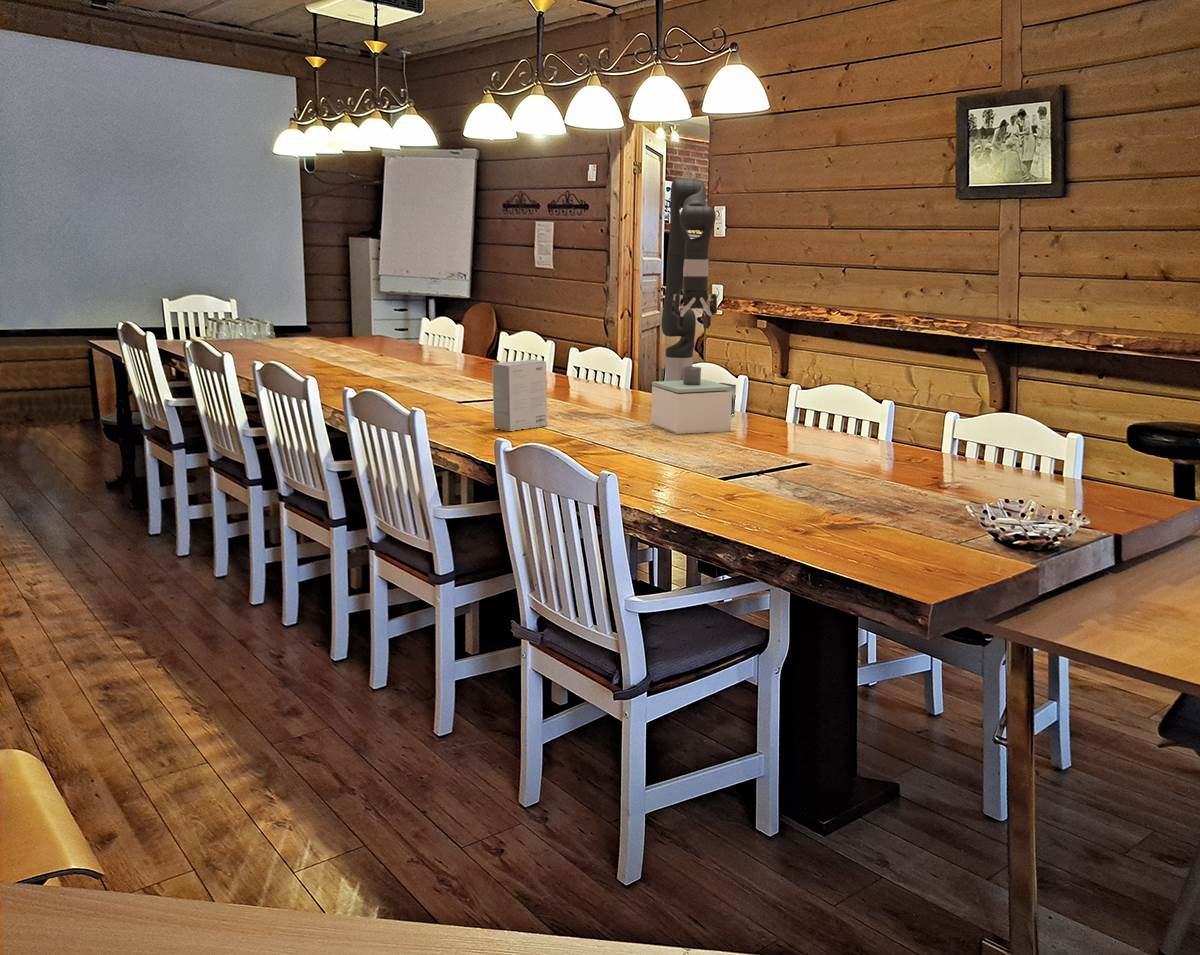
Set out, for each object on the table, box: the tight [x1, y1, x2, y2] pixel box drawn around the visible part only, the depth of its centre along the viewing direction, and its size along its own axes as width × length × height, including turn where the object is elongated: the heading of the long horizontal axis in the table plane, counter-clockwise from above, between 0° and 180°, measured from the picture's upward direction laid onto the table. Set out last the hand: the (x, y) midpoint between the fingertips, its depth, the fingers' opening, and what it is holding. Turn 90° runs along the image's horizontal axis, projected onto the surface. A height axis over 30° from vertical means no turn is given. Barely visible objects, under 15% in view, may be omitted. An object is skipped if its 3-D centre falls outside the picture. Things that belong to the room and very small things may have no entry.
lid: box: [651, 379, 732, 393], centre depth 322 cm, size 18×18×1 cm
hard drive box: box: [491, 358, 548, 432], centre depth 320 cm, size 16×8×20 cm, turn 134°
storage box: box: [650, 385, 732, 435], centre depth 323 cm, size 18×18×12 cm
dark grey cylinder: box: [683, 366, 702, 385], centre depth 321 cm, size 5×5×5 cm
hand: (693, 328), depth 323 cm, fingers open, 8 cm apart
